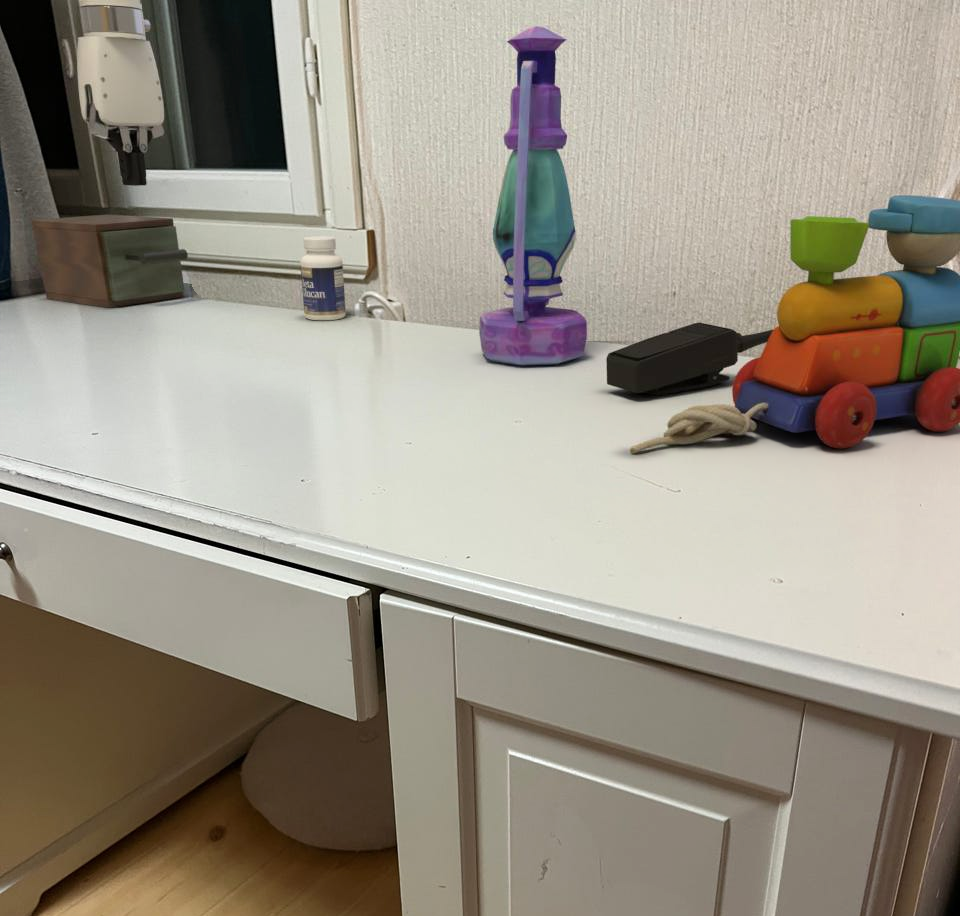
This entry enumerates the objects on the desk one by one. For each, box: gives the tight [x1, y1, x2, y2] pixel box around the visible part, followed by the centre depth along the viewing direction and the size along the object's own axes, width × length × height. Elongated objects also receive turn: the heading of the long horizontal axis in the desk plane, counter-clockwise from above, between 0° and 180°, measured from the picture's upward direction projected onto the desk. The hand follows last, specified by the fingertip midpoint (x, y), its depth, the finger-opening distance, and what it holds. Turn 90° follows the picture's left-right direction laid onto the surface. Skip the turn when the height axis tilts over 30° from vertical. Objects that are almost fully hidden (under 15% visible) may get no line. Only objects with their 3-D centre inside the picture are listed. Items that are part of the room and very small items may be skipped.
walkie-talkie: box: [605, 322, 774, 396], centre depth 92 cm, size 6×6×20 cm
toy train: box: [629, 194, 960, 454], centre depth 74 cm, size 12×29×17 cm, turn 115°
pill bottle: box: [299, 235, 347, 321], centre depth 127 cm, size 5×5×10 cm
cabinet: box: [30, 214, 185, 309], centre depth 144 cm, size 16×13×11 cm
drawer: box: [100, 225, 189, 301], centre depth 142 cm, size 20×12×9 cm, turn 53°
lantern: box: [478, 25, 588, 366], centre depth 98 cm, size 13×12×30 cm
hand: (134, 184), depth 134 cm, fingers closed
